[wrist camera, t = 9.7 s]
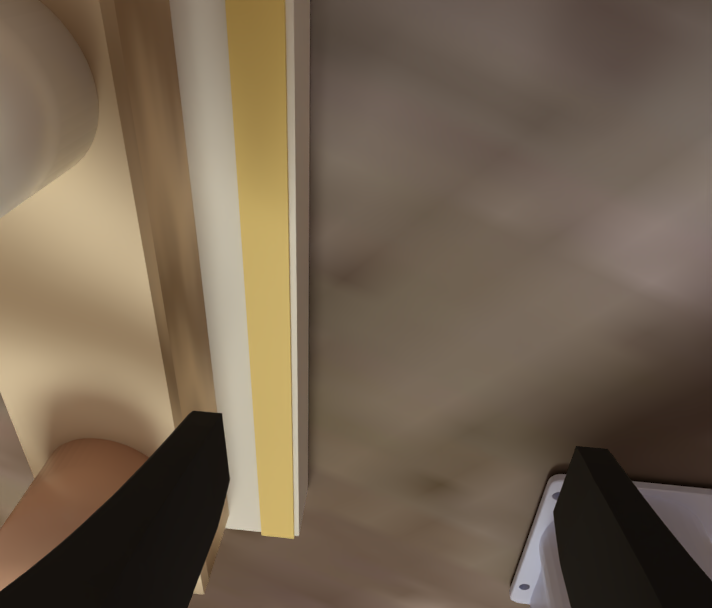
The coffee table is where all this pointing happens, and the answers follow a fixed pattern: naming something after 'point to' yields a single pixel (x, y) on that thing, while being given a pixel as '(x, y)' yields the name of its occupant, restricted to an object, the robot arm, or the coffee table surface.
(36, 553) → the cylinder
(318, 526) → the coffee table surface
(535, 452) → the coffee table surface
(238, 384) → the dock
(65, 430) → the beige long bar
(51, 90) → the taupe tapered cylinder
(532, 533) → the robot arm
